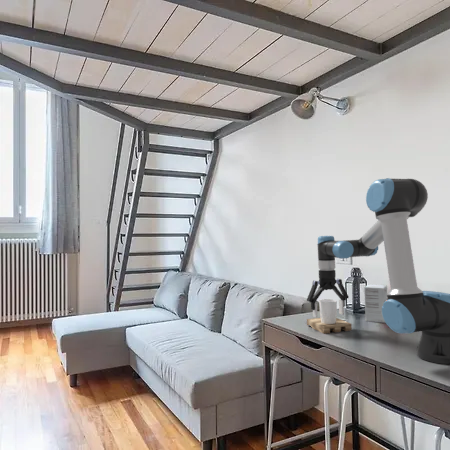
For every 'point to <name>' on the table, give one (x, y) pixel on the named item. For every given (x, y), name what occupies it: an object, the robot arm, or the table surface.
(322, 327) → the pallet dock
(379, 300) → the supplement box
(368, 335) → the table surface
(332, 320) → the white cup
